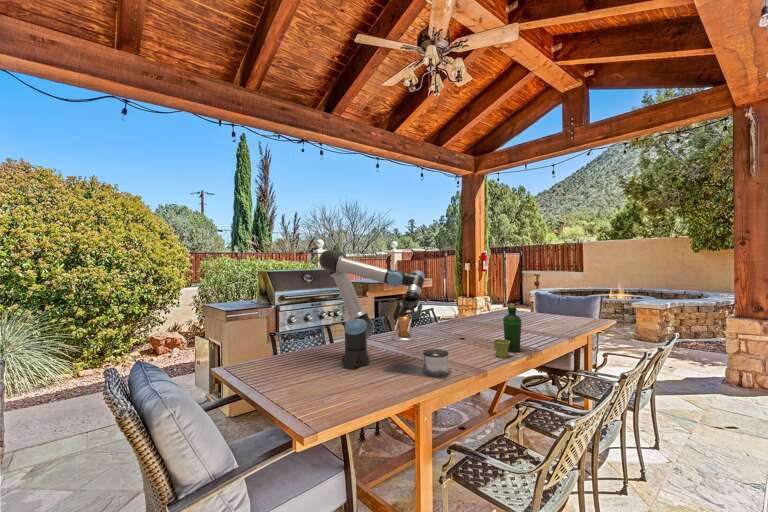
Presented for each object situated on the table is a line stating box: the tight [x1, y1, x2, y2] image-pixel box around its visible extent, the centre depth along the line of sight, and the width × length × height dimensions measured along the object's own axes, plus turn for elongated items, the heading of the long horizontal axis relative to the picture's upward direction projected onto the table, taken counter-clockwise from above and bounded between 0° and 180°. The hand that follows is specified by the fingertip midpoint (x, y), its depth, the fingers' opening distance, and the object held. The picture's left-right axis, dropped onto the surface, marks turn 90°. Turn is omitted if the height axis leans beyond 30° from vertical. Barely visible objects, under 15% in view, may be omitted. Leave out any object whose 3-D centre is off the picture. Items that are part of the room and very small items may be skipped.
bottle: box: [502, 303, 522, 353], centre depth 210 cm, size 11×11×28 cm
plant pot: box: [492, 338, 510, 359], centre depth 199 cm, size 9×9×9 cm
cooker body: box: [422, 348, 449, 378], centre depth 168 cm, size 12×12×10 cm
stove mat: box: [381, 362, 453, 381], centre depth 172 cm, size 32×14×1 cm, turn 67°
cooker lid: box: [391, 315, 418, 343], centre depth 174 cm, size 13×13×11 cm
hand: (401, 331), depth 171 cm, fingers closed on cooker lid, 6 cm apart
